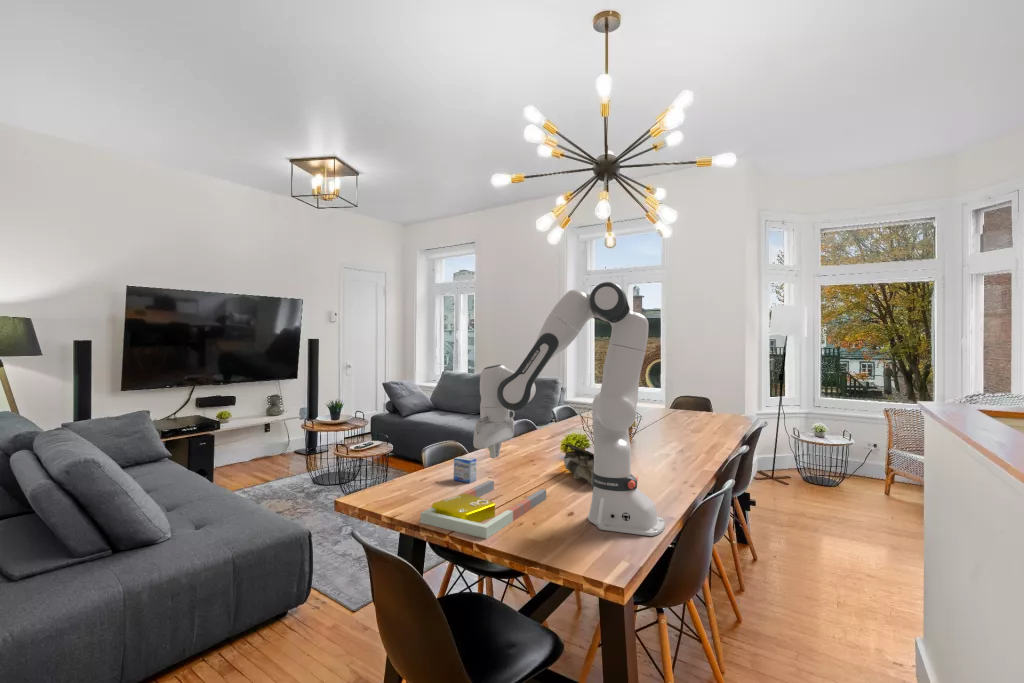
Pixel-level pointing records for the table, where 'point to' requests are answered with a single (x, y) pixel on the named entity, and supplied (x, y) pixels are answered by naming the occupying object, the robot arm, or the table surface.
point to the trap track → (478, 528)
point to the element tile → (466, 508)
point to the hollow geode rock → (580, 463)
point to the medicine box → (464, 469)
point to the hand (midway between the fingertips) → (494, 457)
